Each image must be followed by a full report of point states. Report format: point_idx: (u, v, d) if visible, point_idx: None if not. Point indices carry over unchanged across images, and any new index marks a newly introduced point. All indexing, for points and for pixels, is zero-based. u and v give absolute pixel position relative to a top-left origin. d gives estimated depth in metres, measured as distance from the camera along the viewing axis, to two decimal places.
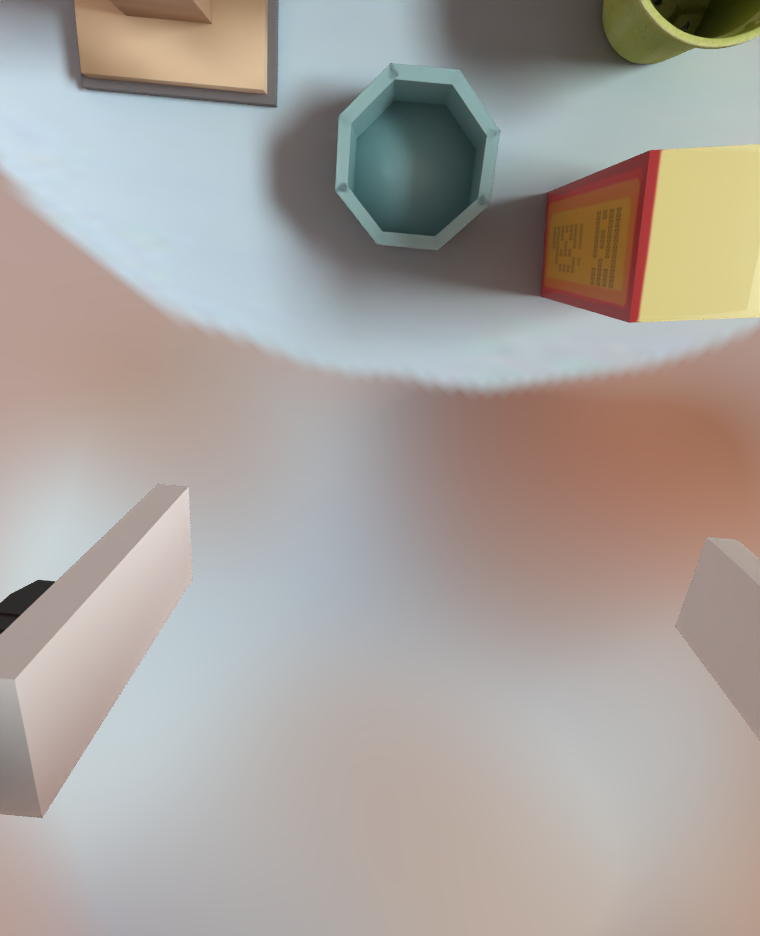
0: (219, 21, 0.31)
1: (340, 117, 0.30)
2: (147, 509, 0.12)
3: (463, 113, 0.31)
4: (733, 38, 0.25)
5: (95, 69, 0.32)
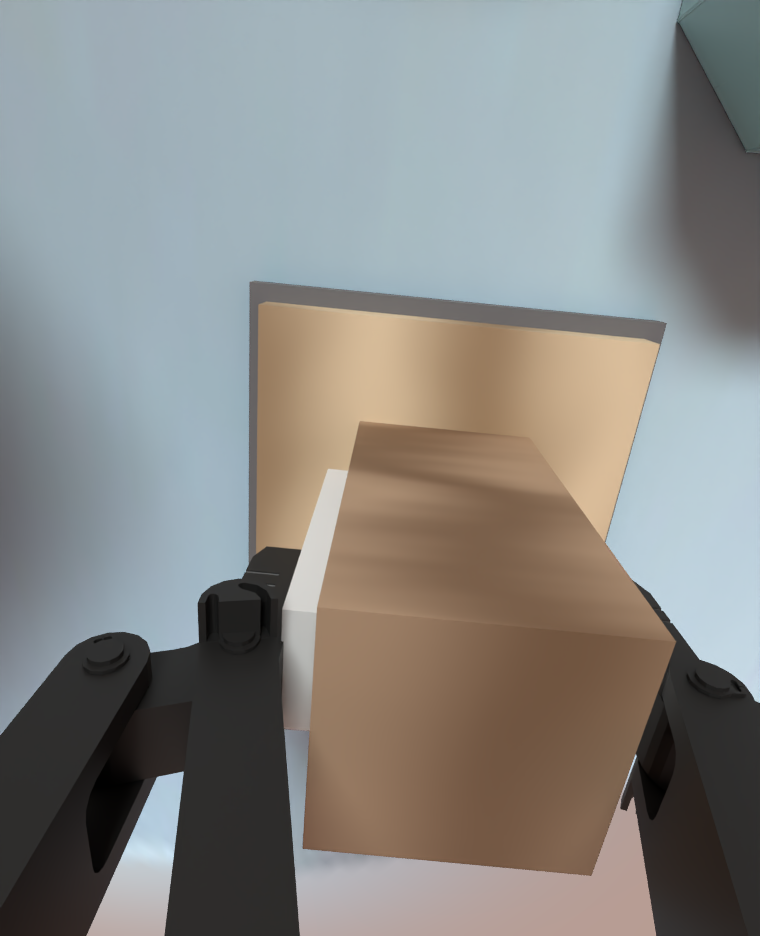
0: (527, 423, 0.16)
1: None
2: (334, 489, 0.14)
3: None
4: None
5: None
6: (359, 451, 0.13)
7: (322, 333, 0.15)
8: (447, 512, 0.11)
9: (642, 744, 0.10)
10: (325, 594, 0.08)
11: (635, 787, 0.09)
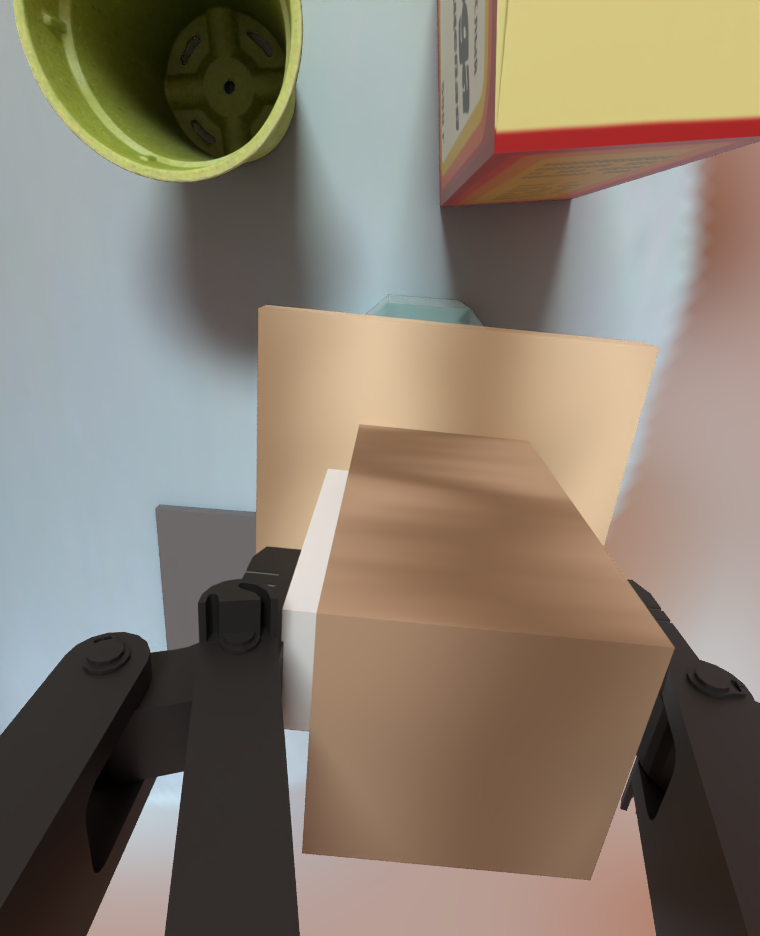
0: (527, 426, 0.16)
1: None
2: (334, 489, 0.14)
3: None
4: None
5: None
6: (359, 455, 0.13)
7: (322, 336, 0.15)
8: (446, 517, 0.11)
9: (642, 744, 0.10)
10: (325, 600, 0.08)
11: (635, 787, 0.09)
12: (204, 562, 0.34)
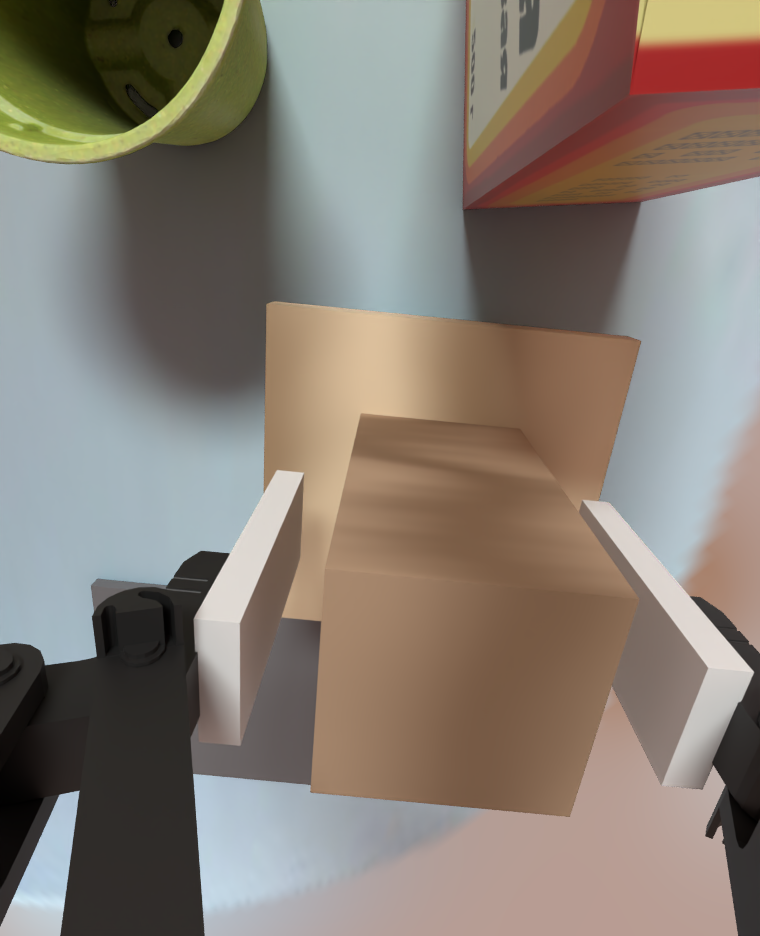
0: (518, 415, 0.17)
1: None
2: (278, 492, 0.14)
3: None
4: None
5: None
6: (360, 440, 0.14)
7: (326, 331, 0.16)
8: (441, 493, 0.12)
9: (732, 771, 0.09)
10: (331, 558, 0.09)
11: (723, 814, 0.09)
12: None
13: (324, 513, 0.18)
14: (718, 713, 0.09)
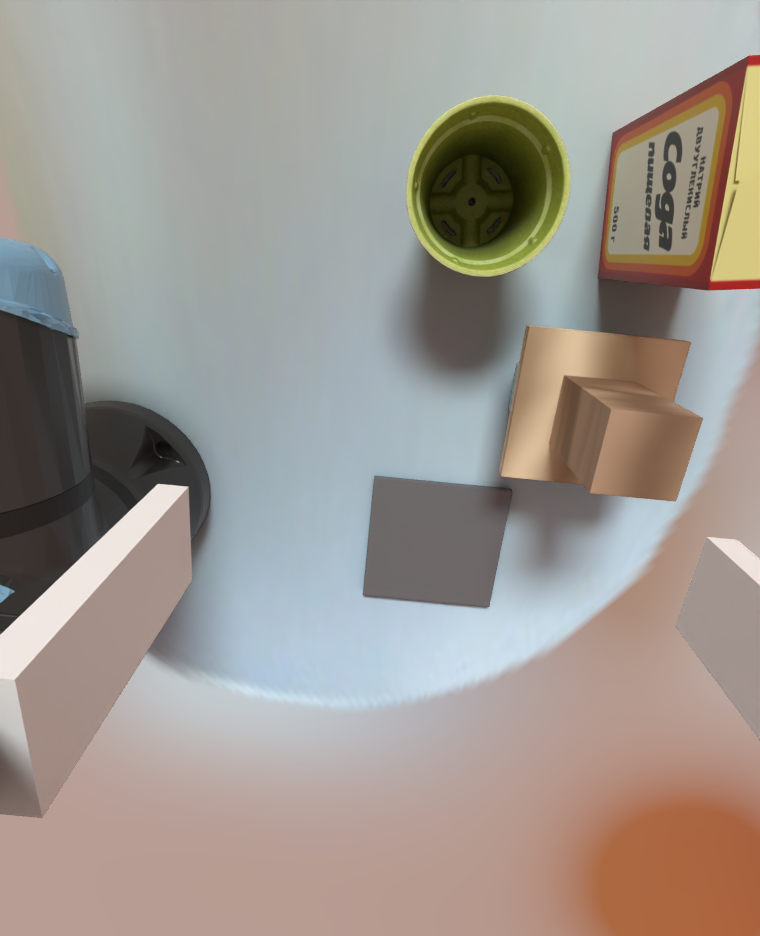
0: (634, 375, 0.38)
1: None
2: (147, 509, 0.12)
3: None
4: (566, 175, 0.31)
5: None
6: (578, 383, 0.35)
7: (553, 338, 0.37)
8: (625, 397, 0.33)
9: None
10: (610, 407, 0.30)
11: None
12: (402, 518, 0.48)
13: (540, 423, 0.39)
14: None
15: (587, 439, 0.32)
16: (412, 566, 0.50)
